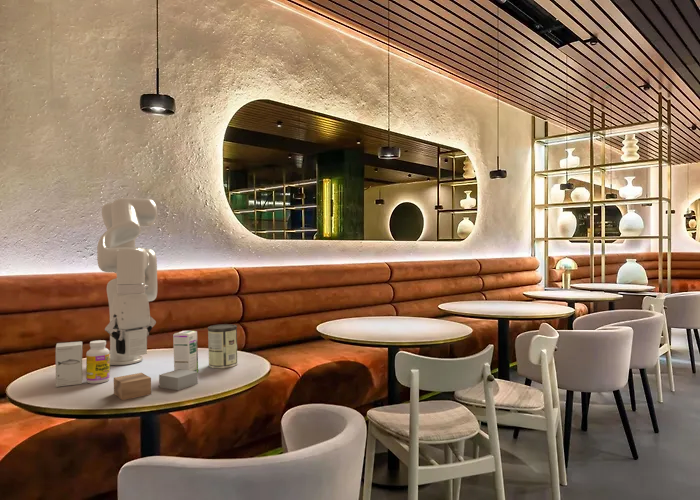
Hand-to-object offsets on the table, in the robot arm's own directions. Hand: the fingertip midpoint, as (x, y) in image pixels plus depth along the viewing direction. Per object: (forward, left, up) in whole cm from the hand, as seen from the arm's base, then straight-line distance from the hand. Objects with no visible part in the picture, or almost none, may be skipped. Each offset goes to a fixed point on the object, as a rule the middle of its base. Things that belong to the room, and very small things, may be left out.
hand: (131, 350), depth 143 cm
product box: (0, 0, -1) cm, 1 cm away
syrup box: (-4, +22, -13) cm, 26 cm away
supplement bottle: (-22, +2, -13) cm, 26 cm away
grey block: (+4, +13, -13) cm, 19 cm away
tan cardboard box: (0, 0, -13) cm, 13 cm away
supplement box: (-28, -4, -13) cm, 31 cm away
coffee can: (-4, +38, -13) cm, 40 cm away
